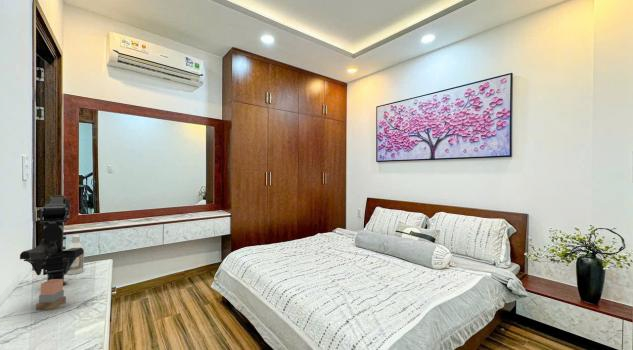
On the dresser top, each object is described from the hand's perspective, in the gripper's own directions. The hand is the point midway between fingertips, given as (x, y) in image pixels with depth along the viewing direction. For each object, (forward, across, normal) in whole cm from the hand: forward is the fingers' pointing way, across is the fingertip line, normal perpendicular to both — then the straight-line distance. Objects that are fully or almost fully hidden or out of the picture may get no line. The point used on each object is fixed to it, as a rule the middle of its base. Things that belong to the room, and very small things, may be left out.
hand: (52, 274), depth 106 cm
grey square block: (+10, 0, 0) cm, 10 cm away
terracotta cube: (+7, 0, 0) cm, 7 cm away
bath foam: (+13, -17, +40) cm, 45 cm away
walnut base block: (+13, 0, 0) cm, 13 cm away
